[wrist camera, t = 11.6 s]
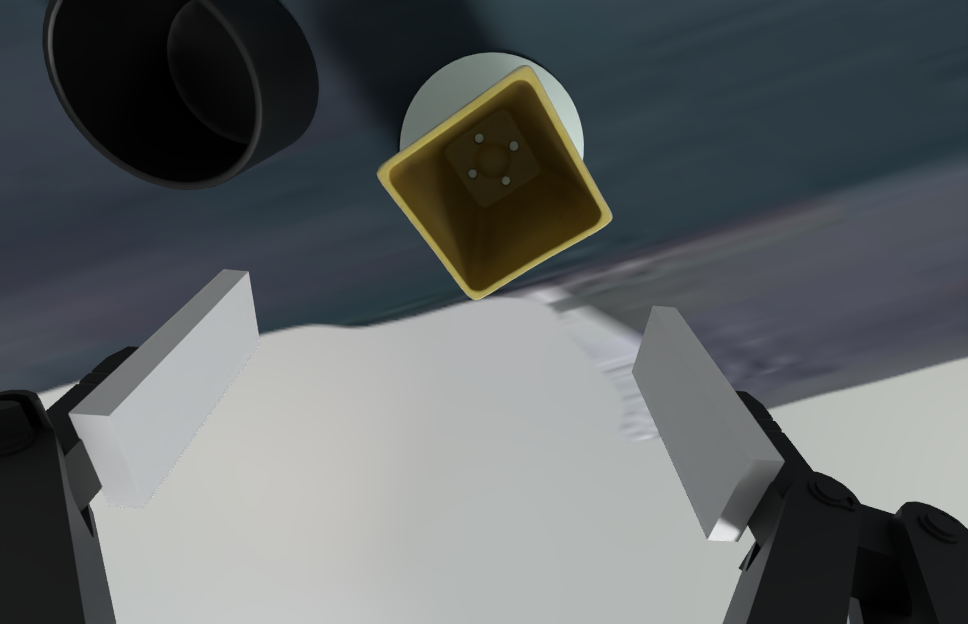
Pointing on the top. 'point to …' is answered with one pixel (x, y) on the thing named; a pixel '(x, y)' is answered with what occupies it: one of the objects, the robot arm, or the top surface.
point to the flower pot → (497, 186)
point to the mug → (181, 83)
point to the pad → (467, 83)
